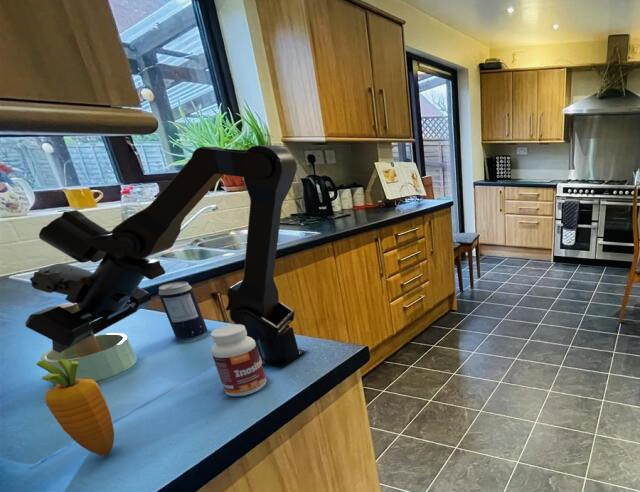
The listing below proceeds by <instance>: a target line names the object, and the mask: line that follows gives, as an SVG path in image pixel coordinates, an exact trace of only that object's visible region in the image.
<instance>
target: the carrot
mask: <svg viewBox="0 0 640 492" xmlns="http://www.w3.org/2000/svg"><path fill="white" fill-rule="evenodd" d="M58 363H59V364H60V365H61V367H62V368H63V369H64V370H65V372H66V374H67V376H66V375H65V374H64V373H63V372H62V371H61V370H60V369H58V368H57V367H55V366H54V365H52V364H51V363H49V362H47V361H45V360H41V359H40V360H38V361H37V362H36V366H38V367H39V368H41V369H43V370H45V371H47V372H50V373H52V374H49V373H48V374H46V375H44V376H42V377H41V380H44V381H47V382H50V383H54V384H55V383H57V384H59V385H55V386H53V387H52V388H50V389H48V390H47V391H46V392H45V393H44V394H45V404H46V406H47V408H48V409H49V411H50V413H51V414H52V416H53V417H54V418H55V420H56V421H57V423H58V424H59V426H60V427H61V428H62V430H63V431H64V432H65V433H66V434H67V436H69V437H70V438H71V439H72V440H73V441H74V442H75V443H77V444H78V445H79V446H80V447H82V448H83V449H84V450H87V451H88V452H90V453H93V454H95V455H98V456H100V457H107V456H109V455H110V454H111V453H112V451H113V446H114V441H115V430H114V425H113V420H112V416H111V412H110V410H109V406H108V404H107V402H106V399H105V397H104V395H103V393H102V390H101V388H100V387H99V384H98V383H97V381H94V380H93V379H76V371H77V367H78V362H77V361H72V362H71V363H69V362H68V361H67V360H63V359H61V360H59V361H58Z"/></svg>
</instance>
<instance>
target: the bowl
mask: <svg viewBox="0 0 640 492" xmlns="http://www.w3.org/2000/svg"><path fill="white" fill-rule="evenodd" d="M95 337H96V340H97V342H98V344H99V346H100V348H101V350H103V351H101V352H97V353H94V354H91V355H87V356H83V357H79V358H75V357H77V354H76V353H75V351H74V349H73V347H70V348H68V349H66V350H64V351H63V352H61V353H58V352H56V351H54V350H53V348H50V349H49V350H47V351H46V352H44V353H43V354H42V355H41V356H40V361H41V360H45V361H47V362H49V363H51V364H52V365H54V366H55V367H57V368H58V369H60V370H61V371H62V372H63V373H64V374H65V375H66V376H67V374H66V372H65V370H64V369H63V368H62V367H61V365H60V364H59V363H58V361H59V360H61V359H63V360H67V361H68V362H69V363H71V362H72V361H77V362H78V367H77V371H76V379H93V380H94V381H96V382H100V381H103V380H106V379H108V378H111V377H114V376H117V375H119V374H120V373H123V372H125V371H127V370H128V369H130V368H132V367H133V366H134V365H135V364H136V363H137V362H138V356H137V354H136V352H135V350H134V348H133V346H132V342H130V339H129V337H128V335H127V334H125V333H119V332H111V333H110V332H109V333H108V332H107V333H100V334H95ZM47 372H48V371H47ZM48 374H52V373H50V372H48ZM54 384H55V386H57V385H59V384H57V383H54Z"/></svg>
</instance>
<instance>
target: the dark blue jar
mask: <svg viewBox="0 0 640 492" xmlns="http://www.w3.org/2000/svg"><path fill="white" fill-rule="evenodd" d="M158 297H159V299H160V302H161V304H162V307H163V308H164V313H165V314H166V318H168V322H169V324H170V327H171V330H172V332H173V335H174V337H175V338H176V339H178V340H180V341H181V340H183V341H185V340H192V339H196V338H200V337H201V336H203V335H205V334H206V333H207V332H208V327H207V324H206V322H205V319H204V316H203V313H202V310H201V308H200V305H199V303H198V300H197V296H196V294H195V292H194V288H193V287H192V286H191V285H190V284H189V282H187V281H174V282H169V283H165V284H162V285H160V286H159V287H158Z"/></svg>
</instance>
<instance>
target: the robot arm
mask: <svg viewBox="0 0 640 492" xmlns="http://www.w3.org/2000/svg"><path fill="white" fill-rule="evenodd" d="M297 169H298V165H297V160H296V159H295V158H294V156H293V154H291V152H290V151H288V150H287V148H284V147H282V146H280V145H276V144H275V145H274V144H272V145H270V144H269V145H268V144H267V145H266V144H265V145H253V146H251V147H249V148H247V149H234V148H233V149H231V148H222V147H219V146H201V147H197V148H196V149H195V150H194V151H193V152H192V155H191V157H190V158H189V159H188V161H186V163H185V164H184V165H183V166H182V167H181V169H180V170H179V171H178V172H177V173H176V175H174V177H173V178H172V179H171V180H170V181H169V182H168V184H167V185H166V186H165V187H164V188H163V189H162V190H161V192H160V193H159V194H158V195H157V197H155V198H154V200H152V202H151V203H150V204H149V205H147V207H145V208H143V209H141V210H140V211H138V212H135V213H134V214H133V215H131V216H129V217H127V218H126V219H124V220H123V221H122V222H120V223H119V224H117V225H116V226H115V227H114V228H112V230H107V229H105V228H104V227H102V226H101V225H100V224H98V223H96V222H94V221H93V220H91V219H90V218H88V217H87V216H86V215H85V214H84V213H82V212H80V211H79V210H77V209H71V210H66V211H63V213H62V215H60V216H58V217H57V218H55V219H53V220H52V221H50V222H49V223H47V225H46V226H43V227H41V230H40V231H39V234H38V238H39V239H40V240H41V241H43V242H44V243H46V244H47V245H50V246H51V247H52V248H55V249H56V250H57V251H60V252H61V253H63V254H65V255H67V256H68V257H70V258H72V259H73V260H75V261H77V262H79V263H80V264H84V263H87V262H92V263H97V262H98V263H99V264H98V266H97V267H96V269H95V270H94V271H93V272H91V271H90V270H87V269H84V268H81V267H78V266H74V265H71V264H68V263H55V264H51V265H49V266H46V267H45V266H44V267H41V268H39V269H38V270H37V271H35V272H33V276H31V277H30V278H29V281H30V282H31V284H30V285H31V287H32V288H33V289H34V290H37V291H41V292H44V293H49V294H52V293H57V294H61V295H65V296H66V297H65V298H64V300H65V301H67V302H71V303H73V304H74V303H77V304H78V305H77V308H79V309H80V310H79V311H77V312H75V313H71V312H69V311H67V310H65V309H64V308H62V307H60V306H56V305H54V306H49V307H46V308H44V309H42V310H38V311H36V312H33V313H31V314H29V316H28V318H27V319H26V321H25V322H24V324H25V327H26V328H27V329H29V330H31V331H33V332H35V333H36V334H39V335H41V336H43V337H46V338H47V339H49V340H51V341H52V344H51V345H52V349H53V350H54V351H56V352H58V353H61V352H63V351H64V350H66V349H68V348H70V347H72V346H73V345H75V344H77V343H79V342H81V341H83V340H84V339H86V338H88V337H90V336H92V334H90V332H91V331H93V333H94V335H98V334H99V333H100V332H103V331H104V330H106V329H107V328H109V327H111V326H113V325H115V324H117V323H119V322H121V321H122V320H124V319H126V318H128V317H130V316H131V315H133V314H135V313H137V312H138V311H139V310H142V309H143V308H146V307H148V305H149V303H150V302H151V301H152V297H151V294H150V293H149V292H148V291H147V290H145V289H143V288H141V287H139V286H140V284H141V282H142V281H143V280H144V278H146V279H148V280H151V281H152V280H154V279H156V278H158V277H162V276H163V275H165V274H166V270H165V269H164V267H163V266H162V265H161V261H160V260H158V259H156V260H154V259H150V258H149V257H151V256H154V255H157V254H160V253H162V252H165V251H168V250H170V249H171V248H172V247H173V246H174V244H175V243H176V241H177V239H178V237H179V235H180V233H181V229H182V223H183V222H184V219H185V218H186V217H187V216H188V215H189V214H190V213H191V211H192V210H194V208H195V207H196V206H197V205H198V204H199V203H200V202H201V201H202V199H204V198H205V196H206V195H207V194H208V193H209V192H210V191H211V189H212V188H213V187H214V186H215V185H216V184H217V183H218V181H219V180H220V179H221V178H222V177H223V176H231V177H232V176H233V177H242V178H243V183H244V186H245V189H246V191H247V194H248V197H249V213H248V226H247V234H246V235H247V236H246V247H245V257H244V267H243V268H244V269H243V278H242V280H240V281H238V282H236V284H234V285H232V286H230V287H229V288H228V289H227V300H228V301H227V306H226V308H225V311H226V312H227V311H229V318H230V321H231V322H233V323H234V324H241V325H244V326H245V328H246V331H247V336H248V337H251V338H252V339H253V340H254V341H255V344H256V347H257V350H258V353H259V357H260V360H261V363H262V366H267V367H272V368H279V369H281V368H284V367H286V366H288V365H289V364H290V363H292V362H293V361H295V360H297V359H298V358H299V357H301V356H302V355H304V354H305V353H306V349H303V348H302V349H301V348H299V347H298V342H297V340H296V336H295V332H294V328H293V327H291V326H290V324H291V322H294V319H295V314H296V313H295V310H294V309H292V308H291V307H289V306H288V305H286V304H284V303H283V302H282V301H281V300H280V299H279V290H278V287H277V284H276V283H275V279H274V275H275V267H276V259H277V251H278V242H279V233H280V226H281V225H280V224H281V218H282V217H281V216H282V208H283V204H284V202H285V200H286V198H287V196H288V194H289V192H290V190H291V188H292V185H293V182H294V179H295V177H296V173H297ZM132 303H133V304H134V306H133V305H132Z"/></svg>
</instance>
